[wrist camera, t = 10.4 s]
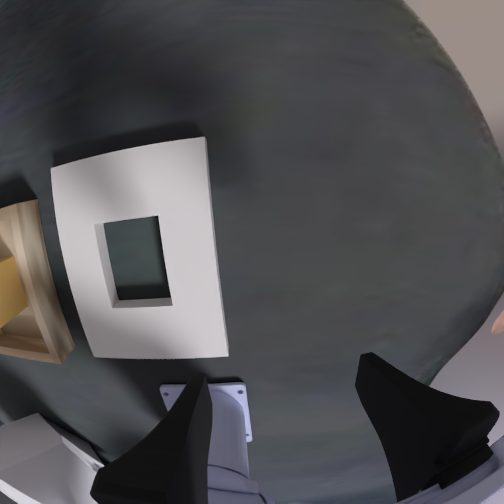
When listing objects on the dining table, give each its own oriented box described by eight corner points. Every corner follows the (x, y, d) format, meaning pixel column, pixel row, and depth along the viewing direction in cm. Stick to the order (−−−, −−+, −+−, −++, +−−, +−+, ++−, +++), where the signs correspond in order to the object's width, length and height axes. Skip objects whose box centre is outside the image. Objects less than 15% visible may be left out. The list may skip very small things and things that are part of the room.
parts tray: (75, 346, 21) (61, 364, 19) (4, 338, 21) (-10, 351, 18) (37, 199, 18) (16, 203, 15) (-29, 220, 17) (-47, 226, 14)
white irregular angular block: (82, 553, 13) (141, 559, 12) (-53, 457, 7) (-55, 432, 7) (98, 483, 30) (152, 463, 29) (-9, 397, 24) (16, 352, 23)
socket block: (228, 345, 22) (228, 356, 21) (100, 347, 22) (94, 357, 20) (206, 139, 18) (204, 136, 16) (61, 168, 17) (50, 168, 16)
